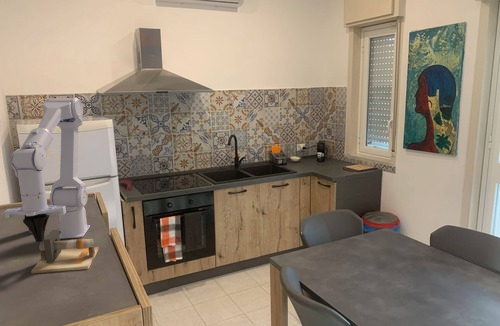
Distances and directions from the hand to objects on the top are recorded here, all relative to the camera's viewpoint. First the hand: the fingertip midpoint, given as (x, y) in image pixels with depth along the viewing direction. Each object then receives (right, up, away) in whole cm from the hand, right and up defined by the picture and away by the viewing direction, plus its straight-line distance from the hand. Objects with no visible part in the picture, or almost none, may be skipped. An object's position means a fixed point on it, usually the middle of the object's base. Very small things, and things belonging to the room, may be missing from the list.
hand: (40, 240), depth 101 cm
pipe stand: (+7, -6, +2) cm, 9 cm away
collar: (+3, -5, +2) cm, 6 cm away
